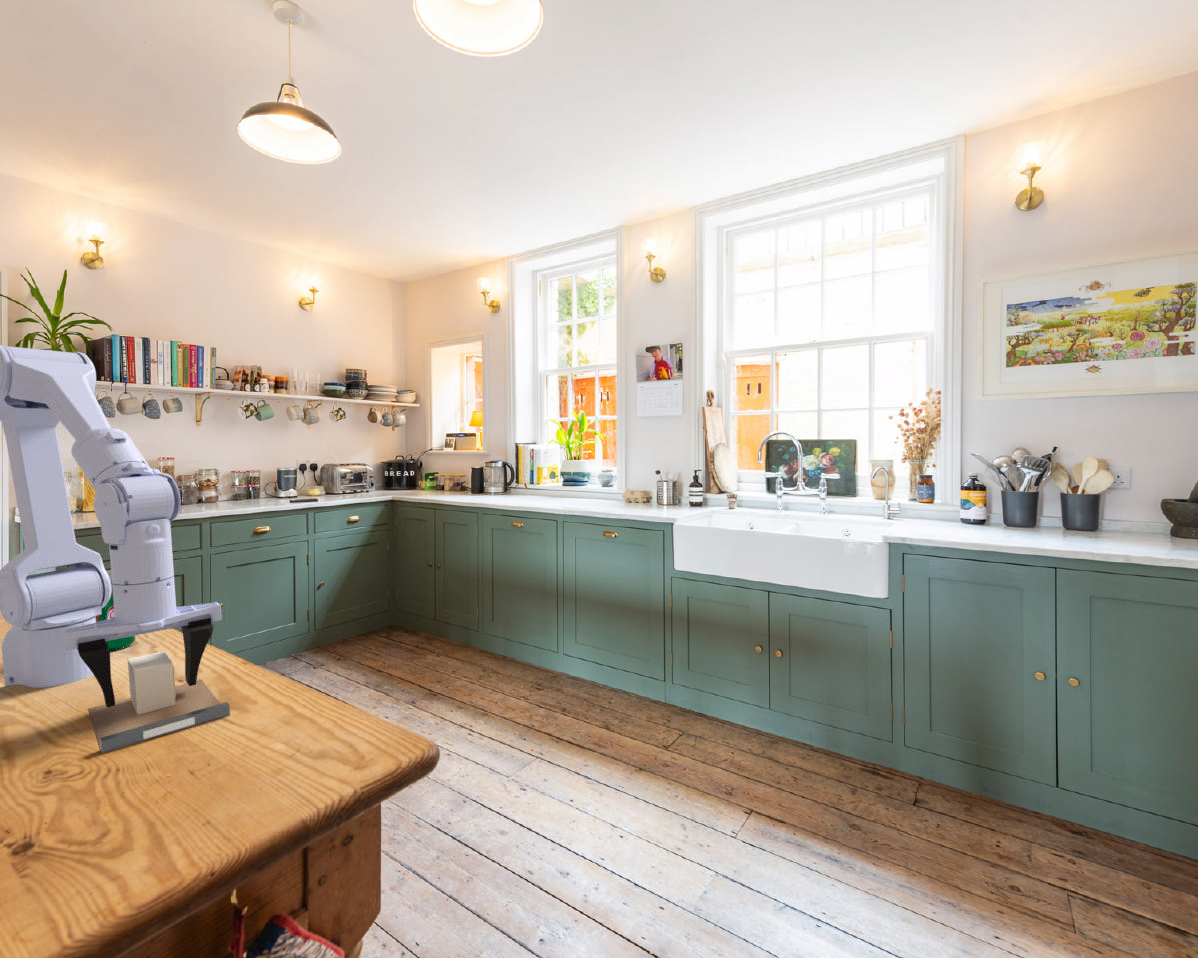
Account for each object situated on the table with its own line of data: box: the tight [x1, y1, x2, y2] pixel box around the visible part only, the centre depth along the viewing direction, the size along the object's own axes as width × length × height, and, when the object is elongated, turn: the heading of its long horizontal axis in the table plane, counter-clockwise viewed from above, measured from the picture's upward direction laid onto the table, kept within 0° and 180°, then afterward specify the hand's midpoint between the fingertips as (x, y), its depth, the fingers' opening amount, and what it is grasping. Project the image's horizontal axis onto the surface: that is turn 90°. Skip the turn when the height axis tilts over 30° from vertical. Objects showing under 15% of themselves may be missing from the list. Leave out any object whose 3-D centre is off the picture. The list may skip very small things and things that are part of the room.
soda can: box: [96, 569, 136, 652], centre depth 93 cm, size 5×5×12 cm
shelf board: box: [88, 679, 231, 754], centre depth 67 cm, size 11×14×2 cm
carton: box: [127, 650, 176, 715], centre depth 69 cm, size 6×4×5 cm, turn 45°
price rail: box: [99, 701, 231, 754], centre depth 62 cm, size 11×1×1 cm, turn 135°
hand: (152, 693), depth 69 cm, fingers open, 7 cm apart
